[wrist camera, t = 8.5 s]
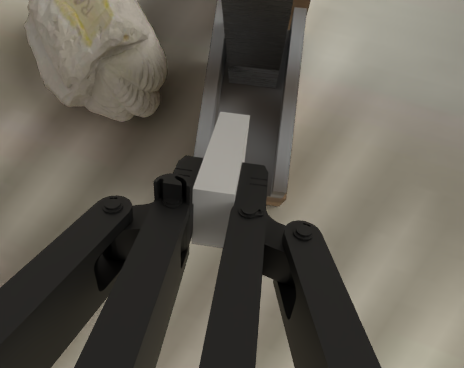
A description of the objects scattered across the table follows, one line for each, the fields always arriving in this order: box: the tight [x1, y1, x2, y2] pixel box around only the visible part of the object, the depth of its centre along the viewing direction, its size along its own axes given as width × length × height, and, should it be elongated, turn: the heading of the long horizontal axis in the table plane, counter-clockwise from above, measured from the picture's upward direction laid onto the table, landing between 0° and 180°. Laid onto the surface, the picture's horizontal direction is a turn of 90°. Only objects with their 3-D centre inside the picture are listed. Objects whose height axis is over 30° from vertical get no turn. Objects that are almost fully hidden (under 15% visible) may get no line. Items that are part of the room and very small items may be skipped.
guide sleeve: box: [194, 0, 307, 206], centre depth 26 cm, size 12×6×8 cm, turn 172°
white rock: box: [24, 0, 168, 122], centre depth 28 cm, size 12×8×10 cm
